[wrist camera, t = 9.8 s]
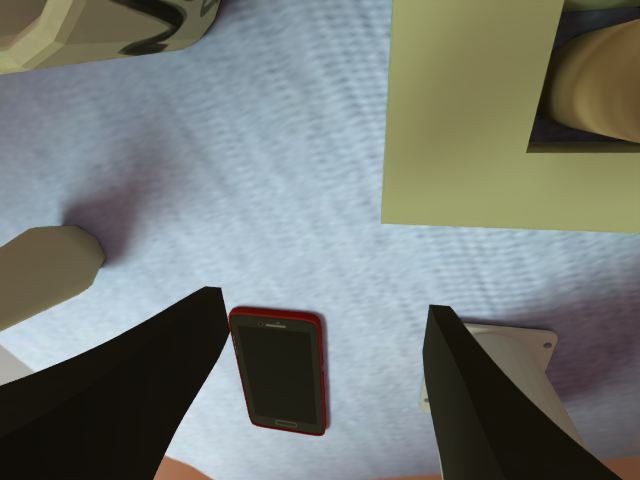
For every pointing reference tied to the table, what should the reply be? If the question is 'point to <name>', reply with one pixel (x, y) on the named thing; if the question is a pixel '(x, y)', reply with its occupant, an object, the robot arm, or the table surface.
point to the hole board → (492, 125)
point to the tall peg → (596, 82)
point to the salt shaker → (45, 270)
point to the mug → (96, 30)
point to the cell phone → (281, 368)
